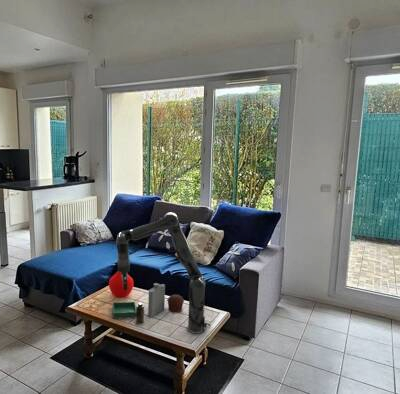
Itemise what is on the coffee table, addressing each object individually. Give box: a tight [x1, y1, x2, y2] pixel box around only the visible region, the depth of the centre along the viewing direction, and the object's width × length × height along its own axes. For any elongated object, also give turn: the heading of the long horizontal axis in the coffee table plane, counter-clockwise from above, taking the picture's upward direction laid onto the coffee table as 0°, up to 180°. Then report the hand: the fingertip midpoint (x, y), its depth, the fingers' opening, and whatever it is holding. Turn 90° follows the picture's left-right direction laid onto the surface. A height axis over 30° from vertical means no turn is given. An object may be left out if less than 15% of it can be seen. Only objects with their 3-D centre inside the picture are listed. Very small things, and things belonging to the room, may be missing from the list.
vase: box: [108, 270, 135, 299], centre depth 253 cm, size 18×18×30 cm
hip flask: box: [147, 282, 166, 318], centre depth 229 cm, size 16×4×20 cm, turn 142°
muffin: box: [166, 294, 185, 313], centre depth 234 cm, size 12×11×10 cm
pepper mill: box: [135, 302, 145, 325], centre depth 216 cm, size 5×5×12 cm
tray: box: [112, 301, 137, 319], centre depth 229 cm, size 15×15×4 cm
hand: (124, 285), depth 218 cm, fingers open, 8 cm apart
